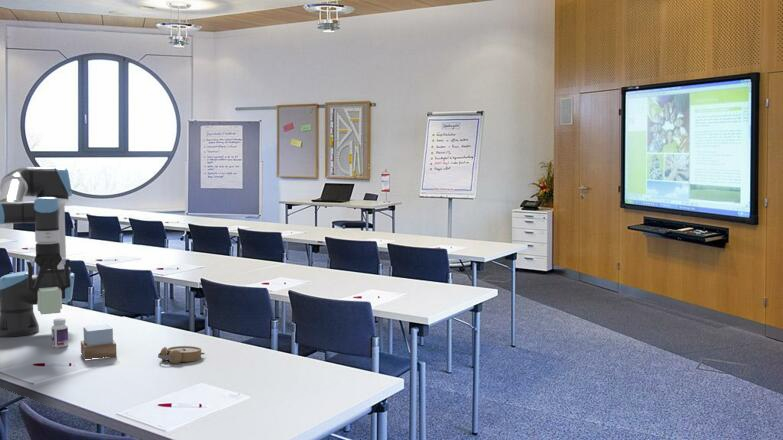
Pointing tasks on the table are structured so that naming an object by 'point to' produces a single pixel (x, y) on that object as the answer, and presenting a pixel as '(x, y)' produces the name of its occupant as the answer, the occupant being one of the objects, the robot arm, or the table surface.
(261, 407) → the table surface
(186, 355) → the alarm clock
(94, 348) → the tower base
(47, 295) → the green block
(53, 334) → the pill bottle
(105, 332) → the tower top
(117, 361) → the table surface
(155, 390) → the table surface
